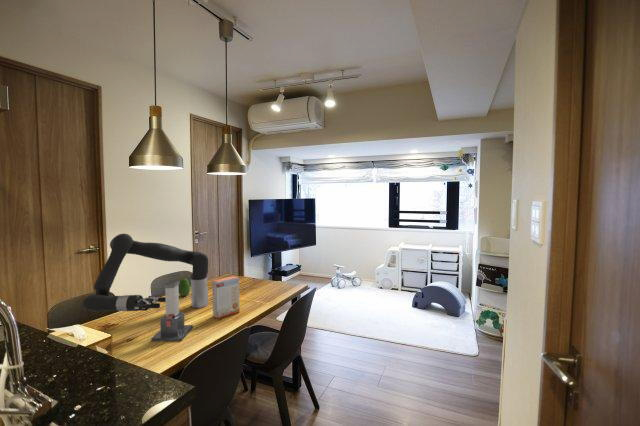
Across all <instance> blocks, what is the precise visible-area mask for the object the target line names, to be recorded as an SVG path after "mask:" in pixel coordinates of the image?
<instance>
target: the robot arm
mask: <svg viewBox="0 0 640 426" xmlns="http://www.w3.org/2000/svg"><path fill="white" fill-rule="evenodd" d="M109 248H110V249H111V251H110V254H109V256H108V259H107V260H106V262H105V263H104V264H103V265H104V266H103V267H102V269H101V270H100V272H99V274H98V276H97V277H96V281H95V282H94V284H93V290H94V291H95V293H94V294H91V295H88V296H85V298H83V299H82V302H81V306H82V308H83V309H85V311H91V312H94V313H99V312H101V311H103V310H105V311H108V312H109V311H111V312H116V311H117V312H139V311H140V312H141V311H148V310H151V309H160V307H161V303H166V298H165V296H164V297H163V296H162V295H148V297H143V296H142V295H140V294H124V295H110V289H111V288H112V285H113V283H114V281H115V279H116V276H117V274H118V271H119V269H120V266H121V264H122V263H123V261H124V259H125V256H127V255H135V256H137V255H138V256H141V257H144V258H149V259H153V260H158V261H164V262H179V263H185V264H188V265H191V266H192V273H191V274H190V294H191V295H190V301H191V306H190V307H191V308H194V309H201V308H204V307H206V306H208V304H209V288H208V274H209V257H208V255H207V254H206V253H203V252H200V251H195V250H194V251H193V250H186V249H181V248H178V247H176V246H173V245H169V244H166V243H165V244H164V243H159V242H142V241H138V240H134V239H133V237H132V236H131V235H130V234H128V233H120V234H119V233H118V234H117V235H116V236H114V237H113V238H112V239H111V240H110V242H109Z"/></svg>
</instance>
